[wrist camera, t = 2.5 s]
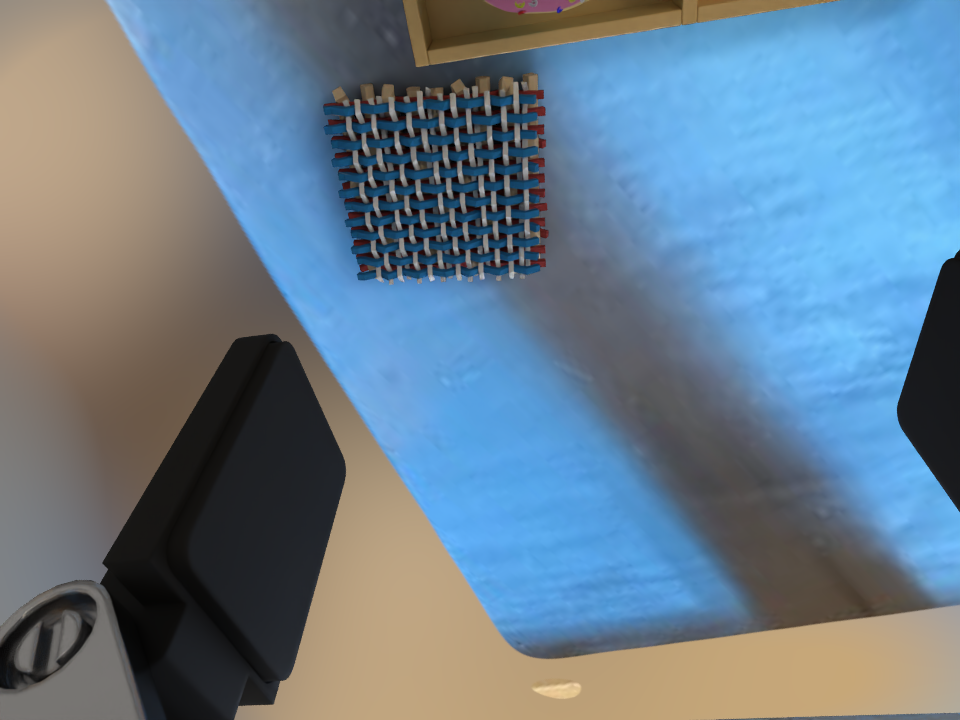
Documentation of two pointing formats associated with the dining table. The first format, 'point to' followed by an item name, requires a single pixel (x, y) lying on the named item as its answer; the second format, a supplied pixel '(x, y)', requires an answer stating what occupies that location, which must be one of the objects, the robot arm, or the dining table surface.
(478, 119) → the woven mat
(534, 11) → the cupcake
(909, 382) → the robot arm
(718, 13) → the divided tray
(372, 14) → the dining table surface
